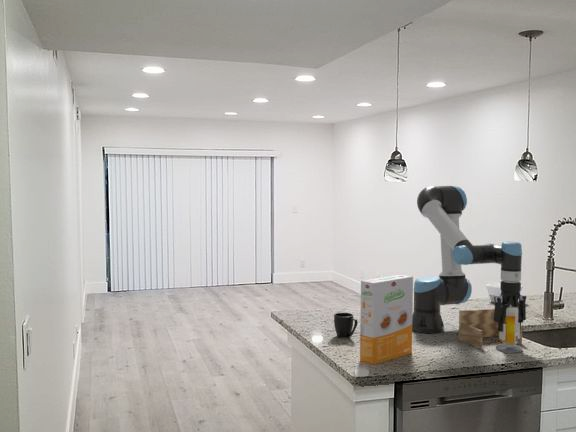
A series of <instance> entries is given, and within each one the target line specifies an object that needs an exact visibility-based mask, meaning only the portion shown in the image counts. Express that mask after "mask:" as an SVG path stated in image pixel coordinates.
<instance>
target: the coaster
mask: <svg viewBox="0 0 576 432" xmlns="http://www.w3.org/2000/svg"><path fill="white" fill-rule="evenodd" d="M495 350H497V351H499V352H502V353H506V352H507V353H506V354H508V353H509V354H520V353H522V352H523V348H522V347H520V346H518V345H506V344H503V343H502V344H497V345H495Z"/></svg>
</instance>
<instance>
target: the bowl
mask: <svg viewBox="0 0 576 432" xmlns="http://www.w3.org/2000/svg"><path fill="white" fill-rule="evenodd" d="M485 287H486V291H487V293H488V296H489V298H490V302H492V303H494V304H495V300H494V297H499V296H500V295H501V281H499V282H498V281H497V282H495V281H494V282H489V283H487V284H486V285H485ZM523 287H524V286H523V285H522V284H521V291H520V294H521V292H522V290H523ZM501 303H502V302H501Z"/></svg>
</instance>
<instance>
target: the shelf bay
mask: <svg viewBox="0 0 576 432" xmlns="http://www.w3.org/2000/svg"><path fill="white" fill-rule="evenodd" d="M494 310H495V307H492V308H491V307H490V308H482V309H480V308H478V309H467V310H459V313H458V339H459V340H461V341H463V342H465V343H468V344H470V345H472V346H474V347H476V348H477V349H482V348H483V338H490V337H491V338H492V337H499V331H498V322H495V321H494ZM517 344H518V345H522V344H523V327H522V326H521V330H520V339H518V343H517Z"/></svg>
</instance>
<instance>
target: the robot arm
mask: <svg viewBox="0 0 576 432" xmlns="http://www.w3.org/2000/svg"><path fill="white" fill-rule="evenodd" d="M467 204H468V199H467V195H466V192H465V191H464V190H463V189H462V187H460V186H456V185H455V186H454V185H429V186H426V187H424V188H423V189H422V190H421V191H420V192H419V193H418V195H417V200H416V205H417V209H418V211H419V212H420V214H421V215H422V216H423V217H424V218H426V219H428V220H429V222H430V223H431V224H432V225H433V227H434V228H435V229H436V230H437V231H438V233H439V235H440V237H439V238H440V250H441V251H440V253H441V254H440V255H441V272H440V273H439V274H438V276H435V275H434V276H433V275H430V276H429V275H428V276H421V277H419V278H416V279H415V281H414V282H413V312H412V332H417V333H420V334H421V333H423V334H438V333H439V334H440V333H442V332H444V331H445V325H444V321H443V319H442V314H441V306H447V305H460V304H465V303H466V302H468V300H469V299H470V297H472V292H473V290H472V289H473V288H472V284H471V283H472V282H471V281H470V280H469V279H468V278H467V277H466V273H465V272H463V269H462V266H463V265H464V266H469V265H481V264H482V265H485V264H498V265H500V280H501V281H500V282H501V295H500V296H499V297H494V300H495V303H494V308H495V310H494V321H495V322H498V331H499V336H498V338H499V340H505V334H506V324H504V321H505V317H506V309H507V307H510V305H512V306H514V307H517V308H518V339H520V330H521V327H522V323H523V324H524V321H526V320H527V316H526V314H527V313H526V310H527V309H526V306H527V305H526V301H527V296H526V295H524V294H521V293H520V291H521V292H522V290H521V285H522V283H521V280H522V262H523V260H522V259H523V258H522V256H523V252H522V251H523V249H522V247H523V246H522V243H520V242H517V241H503V242H502V243H501V245H499V244H494V243H484V244H480V245H478V244H477V245H476V244H475V245H473V244H472V243H471V242H470V240H469V239H468V238H467V237H466V235H465V234H464V232H462V230H461V229H460V217H462V215H463V211H464V210H465V209H466V208H467ZM501 302H502V303H501Z"/></svg>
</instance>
